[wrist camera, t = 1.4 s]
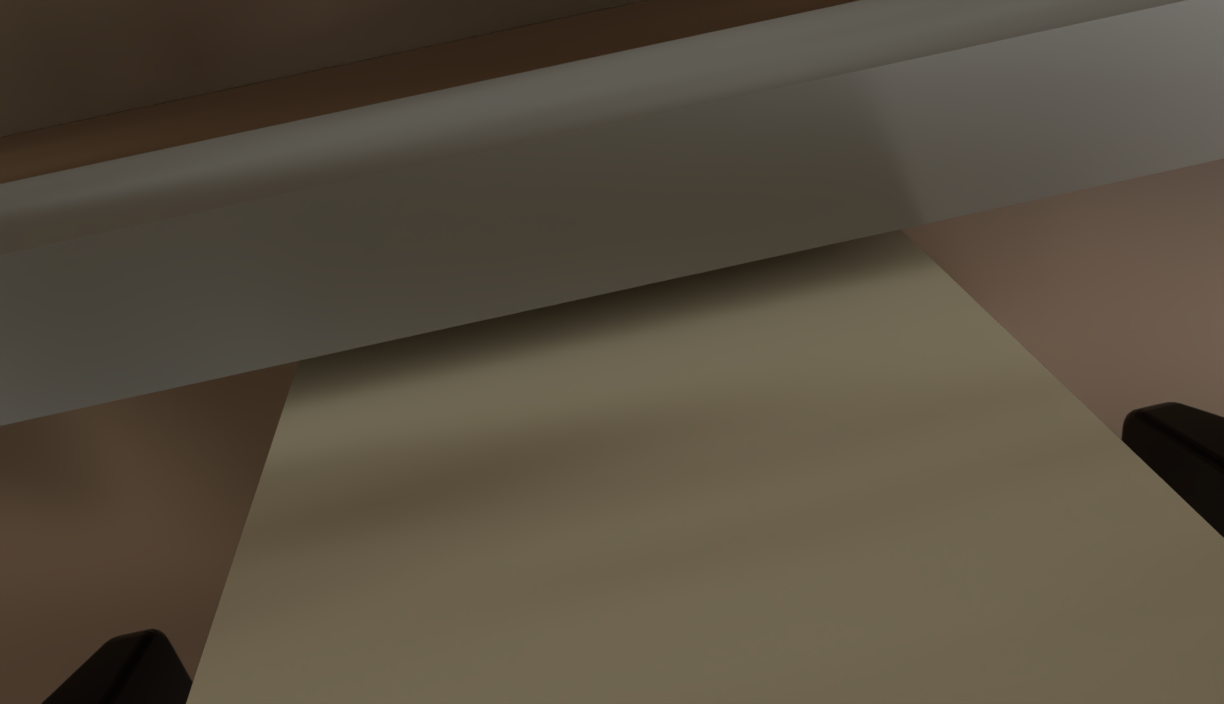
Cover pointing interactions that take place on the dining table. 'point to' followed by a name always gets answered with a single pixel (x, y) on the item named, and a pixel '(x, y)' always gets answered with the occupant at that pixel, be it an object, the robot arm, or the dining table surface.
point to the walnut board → (562, 239)
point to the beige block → (715, 512)
